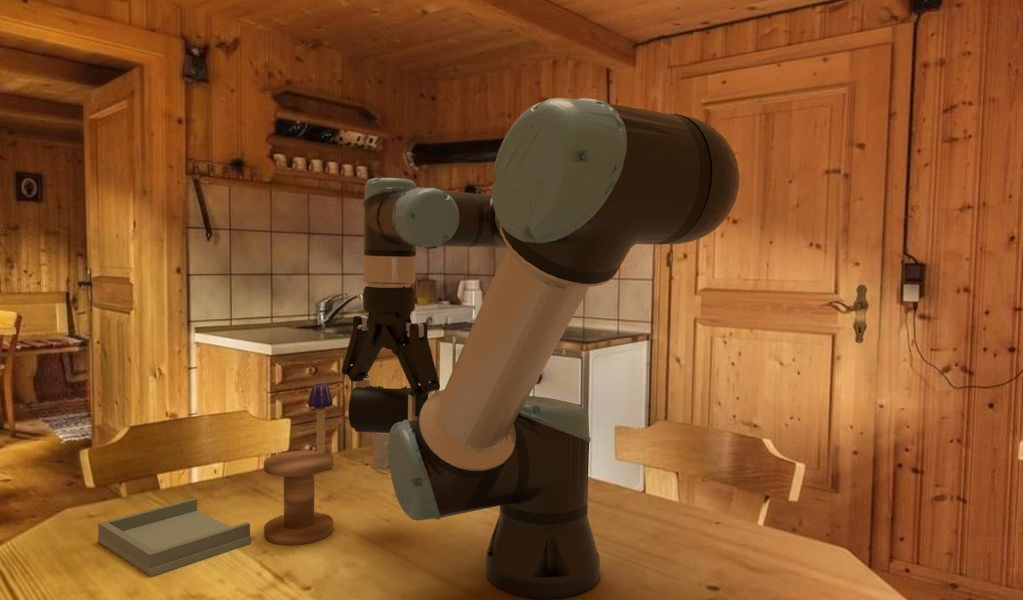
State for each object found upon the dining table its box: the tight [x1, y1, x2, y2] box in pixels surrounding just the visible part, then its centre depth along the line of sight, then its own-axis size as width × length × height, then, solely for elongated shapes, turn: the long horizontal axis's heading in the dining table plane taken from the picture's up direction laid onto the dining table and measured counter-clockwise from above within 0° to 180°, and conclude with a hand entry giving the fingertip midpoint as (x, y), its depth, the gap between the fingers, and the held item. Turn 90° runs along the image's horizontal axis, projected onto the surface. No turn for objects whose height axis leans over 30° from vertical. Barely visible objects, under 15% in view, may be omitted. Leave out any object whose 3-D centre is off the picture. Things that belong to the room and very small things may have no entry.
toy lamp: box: [307, 383, 333, 470], centre depth 135 cm, size 5×5×17 cm
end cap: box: [348, 384, 412, 434], centre depth 103 cm, size 10×7×7 cm
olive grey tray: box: [97, 497, 252, 578], centre depth 100 cm, size 17×14×3 cm
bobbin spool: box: [263, 450, 334, 546], centre depth 104 cm, size 10×10×11 cm
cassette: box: [373, 432, 390, 470], centre depth 137 cm, size 12×2×8 cm, turn 86°
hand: (387, 429), depth 104 cm, fingers closed on end cap, 12 cm apart
